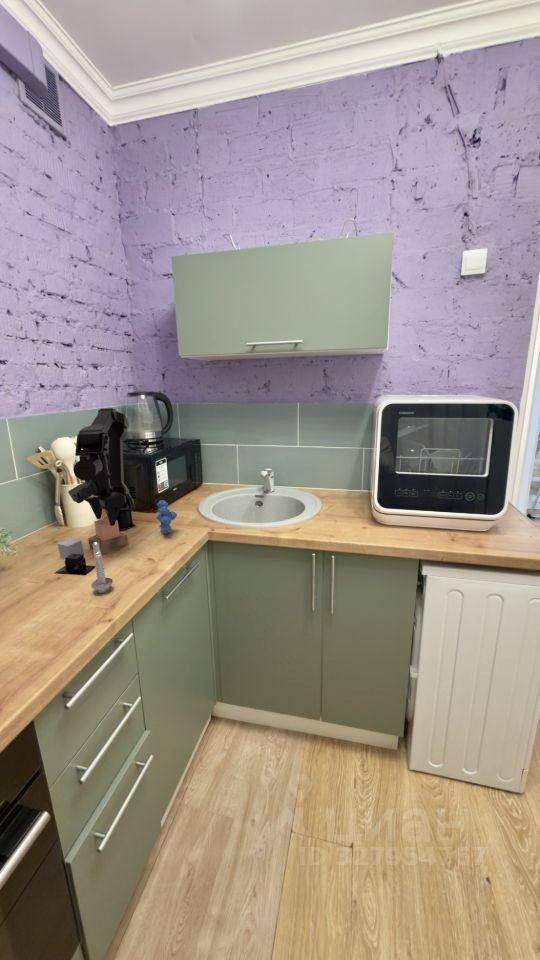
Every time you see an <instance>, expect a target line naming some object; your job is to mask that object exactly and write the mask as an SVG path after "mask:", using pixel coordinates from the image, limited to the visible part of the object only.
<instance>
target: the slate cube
mask: <svg viewBox="0 0 540 960" xmlns="http://www.w3.org/2000/svg"><path fill="white" fill-rule="evenodd" d="M57 548H58V552H59V557H60V558H61V559H65V558H66V557H67V556H69V555H70V554H77V555H78V554H84V547H83V541H82V540H81V539H77V538H73V537H70V538H68V539H66V540H63V541H62V542H58V543H57ZM84 555H85V554H84Z"/></svg>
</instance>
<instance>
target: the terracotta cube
mask: <svg viewBox="0 0 540 960" xmlns="http://www.w3.org/2000/svg"><path fill="white" fill-rule="evenodd" d="M93 522H94V528H95V534H96V536H97V537H98V538H99V539H101V540H103V541H106V540H109V539H112V538H115V537H118V536H120V534H119V532H120V531H119V527H118V521H117V520H116V522H115V525H114V526H110V523H109V520H108V517H106V518H100V519H97V520H95V521H93Z"/></svg>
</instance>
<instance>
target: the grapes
mask: <svg viewBox="0 0 540 960" xmlns="http://www.w3.org/2000/svg"><path fill="white" fill-rule="evenodd" d="M168 505H169V503H168V502H167V501H166V500H163V499H161V500H159V501H158V503H157V504H156V506H157V507H158V508H157V510H156V511H157V512H158V515H157V516H156V519H157V520H158V521H159V522H160V525H159V528H160V532H161V533H162V534H164V535H167V534H169V532H171V528H172V526H171V525H170V524H171V523H172V521H173V520H175V519H176V518H177V517H178V514H177V513H176V512H175V511H173V510H170V508H168Z"/></svg>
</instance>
